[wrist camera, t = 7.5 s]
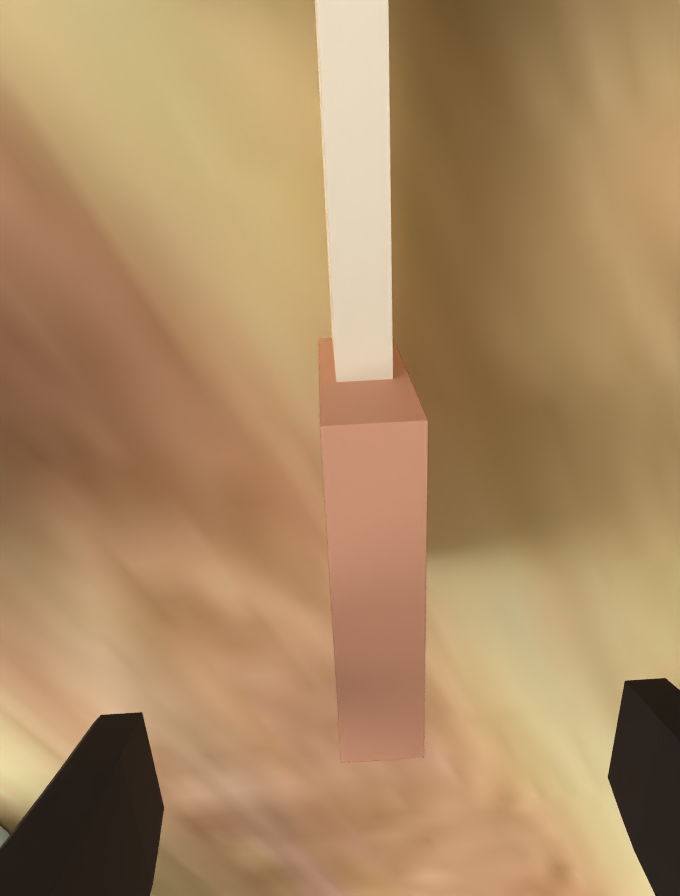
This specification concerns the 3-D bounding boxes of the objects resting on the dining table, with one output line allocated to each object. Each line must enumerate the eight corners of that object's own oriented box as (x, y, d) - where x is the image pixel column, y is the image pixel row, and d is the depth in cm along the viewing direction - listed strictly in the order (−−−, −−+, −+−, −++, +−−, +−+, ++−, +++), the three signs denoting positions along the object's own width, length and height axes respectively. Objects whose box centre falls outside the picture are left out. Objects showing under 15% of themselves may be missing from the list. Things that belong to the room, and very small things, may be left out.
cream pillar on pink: (394, 592, 17) (424, 757, 13) (333, 596, 17) (341, 762, 13) (378, -588, 9) (448, -1400, 4) (262, -583, 9) (205, -1395, 4)
